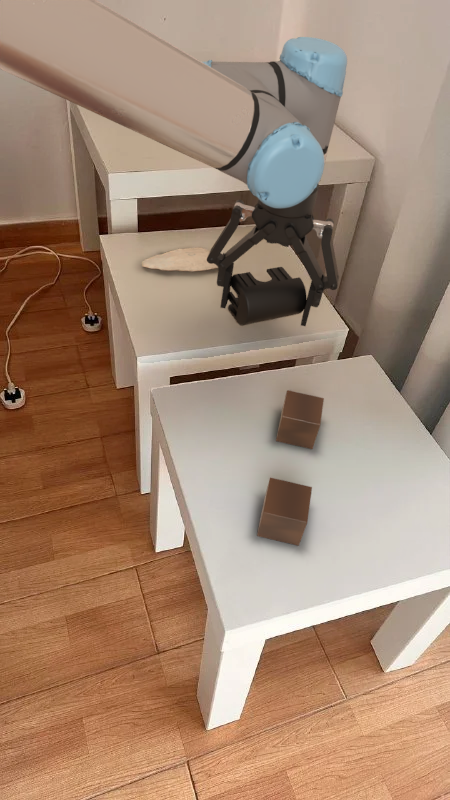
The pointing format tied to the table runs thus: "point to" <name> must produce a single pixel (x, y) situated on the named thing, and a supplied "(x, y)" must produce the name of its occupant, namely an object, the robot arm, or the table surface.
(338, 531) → the table surface
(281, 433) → the walnut block middle
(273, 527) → the walnut block near
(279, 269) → the end cap
